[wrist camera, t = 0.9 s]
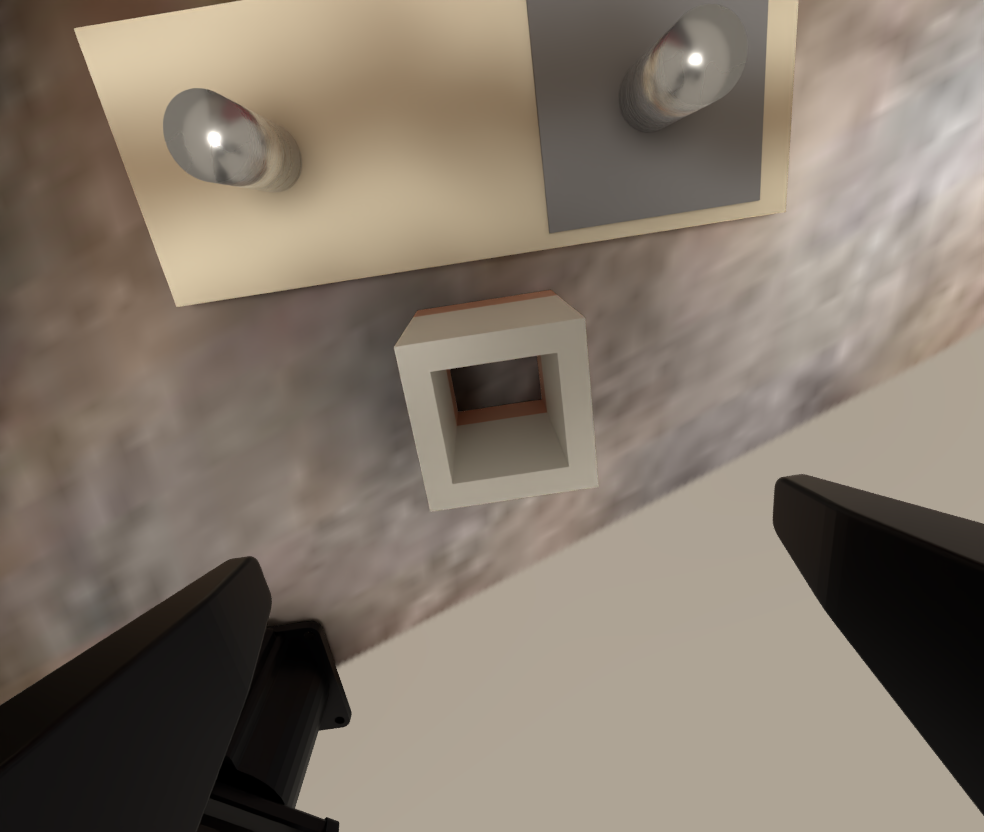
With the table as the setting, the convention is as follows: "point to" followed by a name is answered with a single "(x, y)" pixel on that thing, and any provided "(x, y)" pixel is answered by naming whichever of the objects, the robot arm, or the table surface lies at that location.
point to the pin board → (434, 132)
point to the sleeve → (507, 428)
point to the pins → (642, 99)
